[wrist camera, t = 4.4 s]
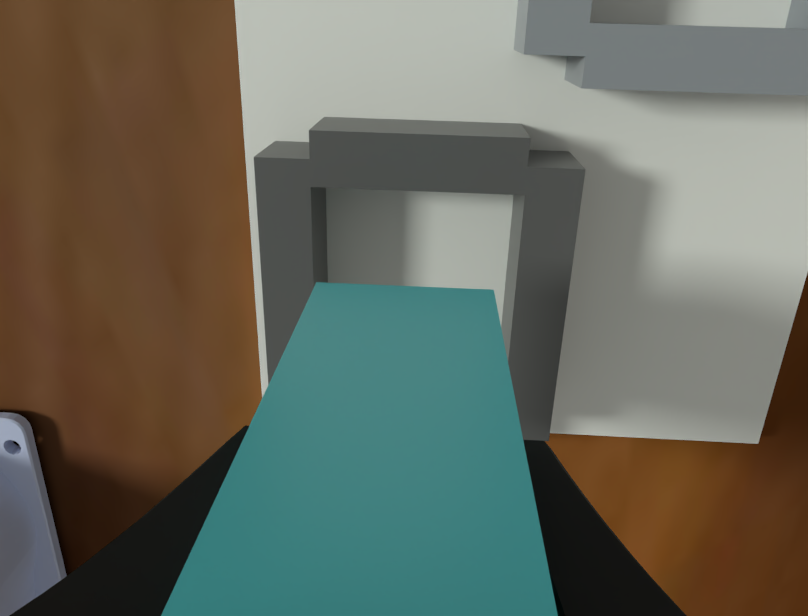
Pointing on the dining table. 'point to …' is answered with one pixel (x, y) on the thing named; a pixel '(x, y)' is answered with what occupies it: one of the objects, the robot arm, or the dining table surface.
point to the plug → (378, 471)
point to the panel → (546, 188)
